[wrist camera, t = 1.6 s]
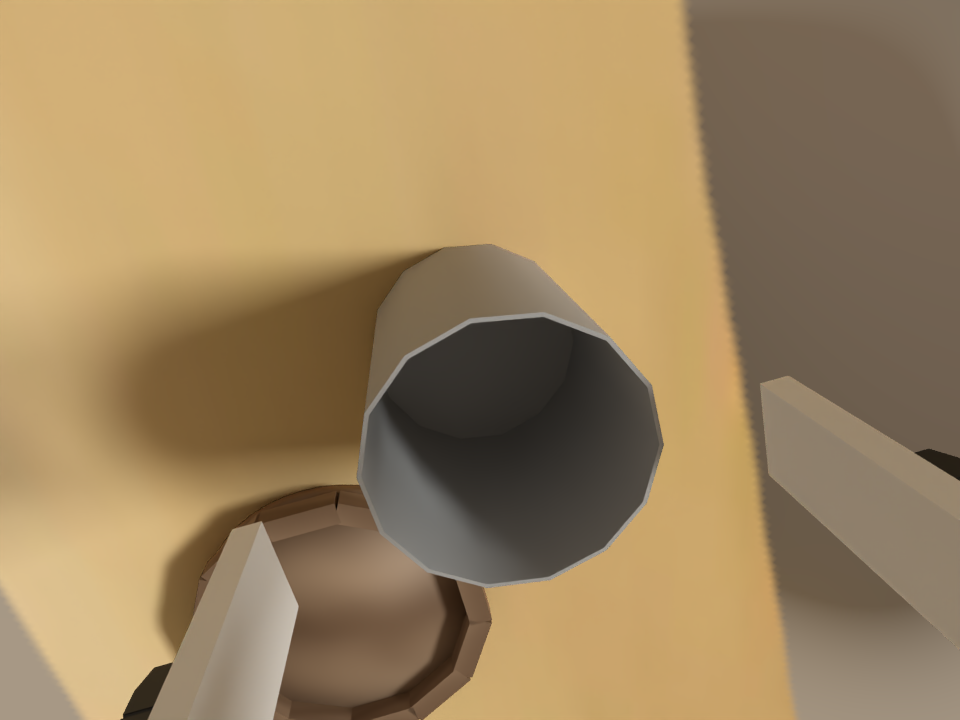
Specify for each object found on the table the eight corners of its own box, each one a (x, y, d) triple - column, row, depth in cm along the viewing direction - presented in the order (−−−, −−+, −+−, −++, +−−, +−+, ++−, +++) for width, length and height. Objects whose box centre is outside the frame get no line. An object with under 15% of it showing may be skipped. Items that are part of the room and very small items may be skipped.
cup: (494, 465, 29) (539, 628, 19) (334, 373, 26) (298, 508, 17) (610, 315, 27) (721, 414, 17) (449, 201, 24) (480, 247, 15)
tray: (157, 530, 28) (141, 556, 26) (444, 451, 28) (446, 472, 26) (264, 735, 32) (256, 768, 31) (508, 665, 33) (514, 694, 31)
